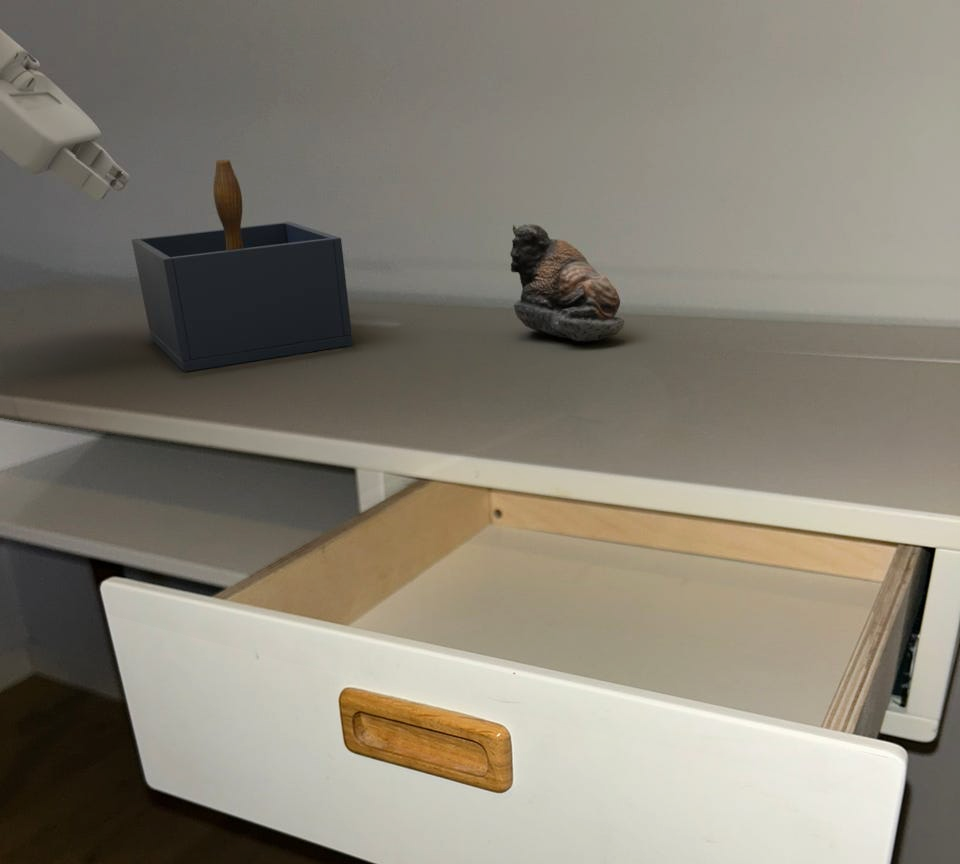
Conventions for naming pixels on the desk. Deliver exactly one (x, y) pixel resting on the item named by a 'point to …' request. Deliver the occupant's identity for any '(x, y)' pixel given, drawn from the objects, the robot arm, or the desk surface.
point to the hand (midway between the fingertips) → (115, 189)
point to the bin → (244, 294)
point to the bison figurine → (561, 289)
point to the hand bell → (228, 203)
